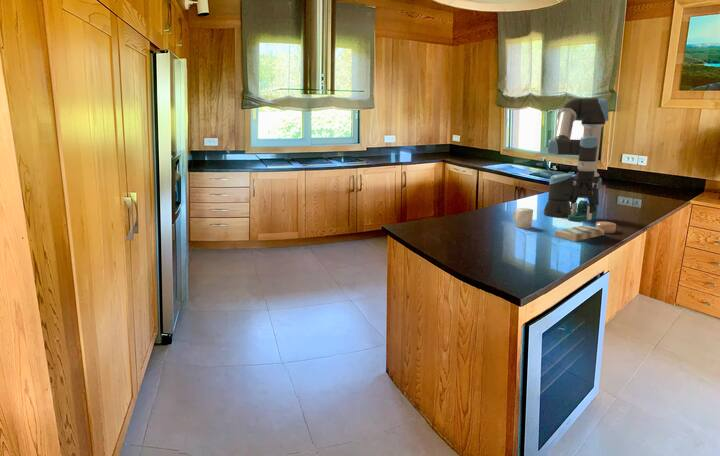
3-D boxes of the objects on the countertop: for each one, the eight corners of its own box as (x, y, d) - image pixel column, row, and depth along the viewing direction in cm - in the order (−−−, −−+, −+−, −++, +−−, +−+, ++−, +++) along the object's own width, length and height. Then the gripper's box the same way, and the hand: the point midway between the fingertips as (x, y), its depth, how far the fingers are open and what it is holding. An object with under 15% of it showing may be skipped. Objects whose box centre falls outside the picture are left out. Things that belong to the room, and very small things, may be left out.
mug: (518, 223, 267) (519, 206, 265) (534, 227, 258) (536, 210, 256) (508, 225, 263) (509, 208, 261) (524, 229, 254) (525, 211, 252)
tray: (583, 230, 251) (584, 224, 250) (603, 234, 242) (604, 229, 241) (554, 236, 240) (555, 230, 239) (574, 241, 231) (575, 235, 230)
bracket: (582, 215, 247) (584, 199, 246) (596, 217, 242) (598, 201, 241) (565, 220, 236) (566, 203, 234) (579, 222, 231) (581, 205, 229)
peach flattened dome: (602, 228, 256) (603, 220, 255) (618, 232, 248) (619, 224, 247) (591, 230, 251) (592, 222, 250) (608, 234, 244) (609, 226, 243)
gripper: (562, 168, 240) (557, 215, 245) (601, 172, 223) (595, 222, 229) (572, 167, 244) (567, 213, 249) (611, 171, 227) (605, 221, 232)
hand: (581, 217), depth 239 cm, fingers closed on bracket, 7 cm apart
